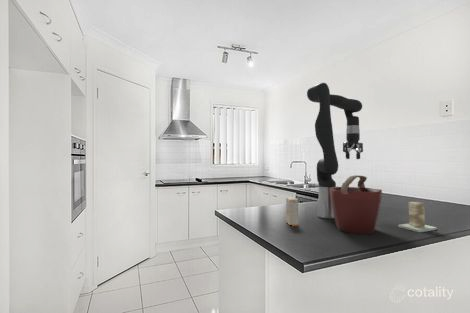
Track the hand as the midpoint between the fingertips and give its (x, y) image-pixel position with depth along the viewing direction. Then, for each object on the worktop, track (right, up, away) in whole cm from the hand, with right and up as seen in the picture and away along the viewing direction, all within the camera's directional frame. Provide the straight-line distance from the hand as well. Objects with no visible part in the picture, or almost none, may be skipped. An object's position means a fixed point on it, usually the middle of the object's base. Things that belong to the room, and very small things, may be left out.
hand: (353, 159), depth 162 cm
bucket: (-17, -33, -41) cm, 55 cm away
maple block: (+12, -31, -40) cm, 52 cm away
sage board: (+12, -32, -40) cm, 53 cm away
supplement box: (-45, -33, -31) cm, 63 cm away
